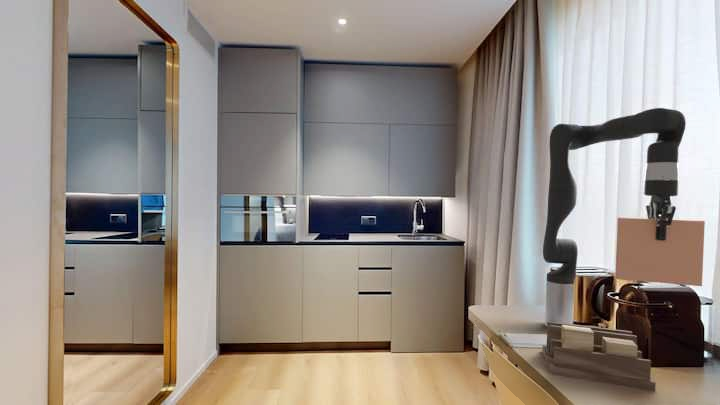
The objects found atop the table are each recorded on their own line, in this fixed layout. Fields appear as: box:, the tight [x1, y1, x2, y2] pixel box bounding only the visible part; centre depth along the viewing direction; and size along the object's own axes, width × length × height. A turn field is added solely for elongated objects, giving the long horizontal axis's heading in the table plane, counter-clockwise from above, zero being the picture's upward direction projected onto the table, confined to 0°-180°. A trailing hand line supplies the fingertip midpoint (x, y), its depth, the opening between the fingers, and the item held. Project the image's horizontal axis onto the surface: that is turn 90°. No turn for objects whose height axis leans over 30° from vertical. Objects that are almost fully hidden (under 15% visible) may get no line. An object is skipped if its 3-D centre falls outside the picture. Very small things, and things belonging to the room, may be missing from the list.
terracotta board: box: [614, 217, 706, 287], centre depth 108 cm, size 2×20×18 cm, turn 71°
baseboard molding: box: [498, 330, 547, 349], centre depth 126 cm, size 31×3×12 cm
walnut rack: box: [541, 321, 657, 391], centre depth 107 cm, size 16×24×10 cm, turn 71°
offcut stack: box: [561, 325, 638, 358], centre depth 103 cm, size 4×17×10 cm, turn 71°
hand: (658, 239), depth 108 cm, fingers closed on terracotta board, 2 cm apart
